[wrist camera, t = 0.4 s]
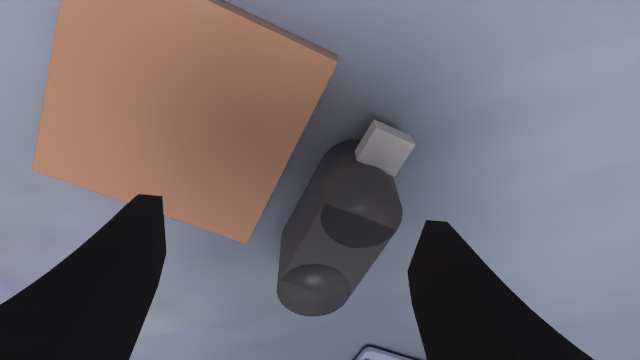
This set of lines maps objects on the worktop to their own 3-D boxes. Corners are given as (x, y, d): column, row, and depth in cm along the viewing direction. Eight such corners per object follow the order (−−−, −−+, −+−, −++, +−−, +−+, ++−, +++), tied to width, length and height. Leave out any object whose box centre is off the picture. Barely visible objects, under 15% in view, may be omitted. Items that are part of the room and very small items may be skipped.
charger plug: (327, 270, 27) (330, 323, 23) (271, 251, 26) (265, 303, 23) (419, 128, 22) (439, 169, 19) (354, 98, 21) (363, 136, 18)
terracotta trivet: (248, 232, 25) (246, 243, 24) (42, 160, 22) (31, 170, 22) (337, 55, 20) (338, 62, 19) (82, -66, 17) (71, -65, 16)
